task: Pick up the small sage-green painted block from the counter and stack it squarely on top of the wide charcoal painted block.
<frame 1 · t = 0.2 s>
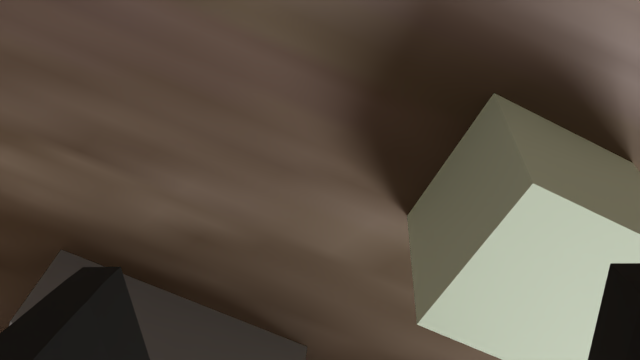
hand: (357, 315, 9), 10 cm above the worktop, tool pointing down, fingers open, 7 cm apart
sage block: (514, 189, 19), on the worktop
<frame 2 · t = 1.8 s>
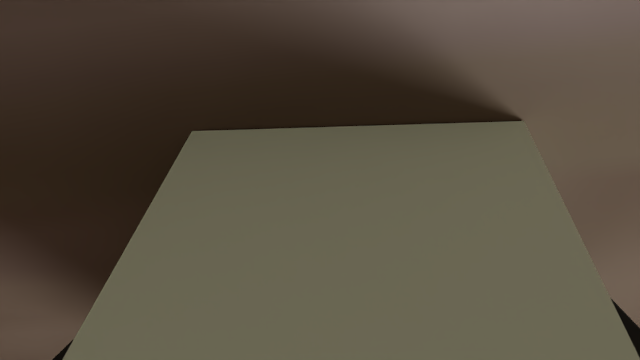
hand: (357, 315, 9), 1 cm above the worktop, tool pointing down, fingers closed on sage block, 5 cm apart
sage block: (359, 256, 10), on the worktop, touching gripper
when the fingers open (6 cm above the worktop, at t = 5.1 s): sage block drops 1 cm, resting on charcoal plinth.
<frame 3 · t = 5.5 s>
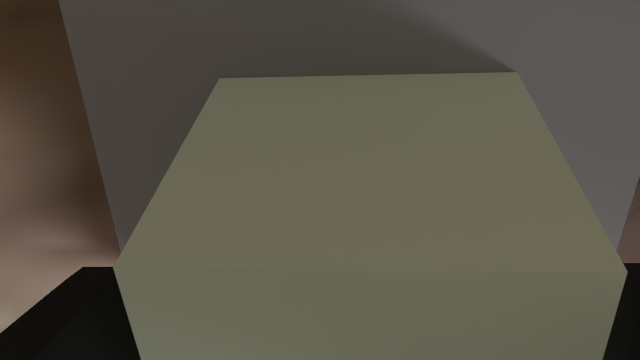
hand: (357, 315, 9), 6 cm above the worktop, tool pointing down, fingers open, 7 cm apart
charcoal plinth: (362, 120, 15), on the worktop, touching sage block
sage block: (366, 198, 11), point 4 cm above the worktop, touching charcoal plinth
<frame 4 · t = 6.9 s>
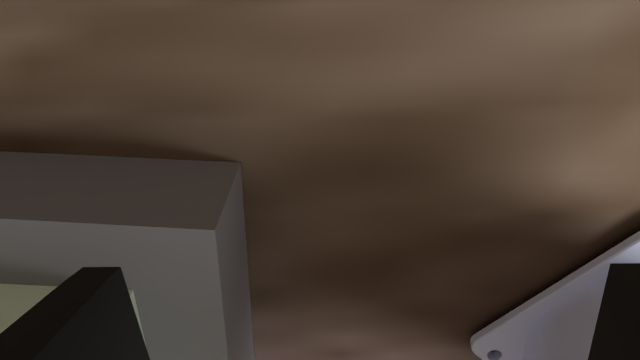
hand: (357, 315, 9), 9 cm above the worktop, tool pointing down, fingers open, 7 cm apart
charcoal plinth: (117, 267, 22), on the worktop
sage block: (69, 346, 19), point 4 cm above the worktop
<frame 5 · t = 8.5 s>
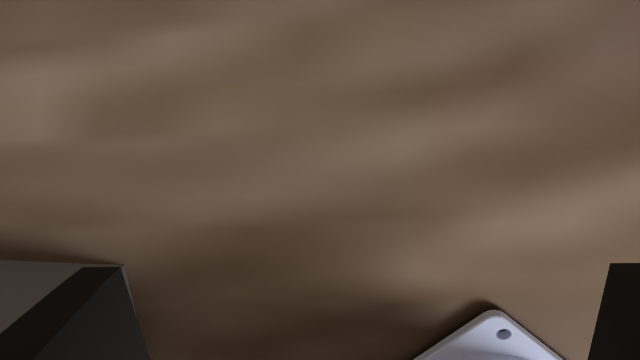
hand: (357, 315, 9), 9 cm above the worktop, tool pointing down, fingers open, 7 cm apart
charcoal plinth: (33, 346, 25), on the worktop, touching sage block
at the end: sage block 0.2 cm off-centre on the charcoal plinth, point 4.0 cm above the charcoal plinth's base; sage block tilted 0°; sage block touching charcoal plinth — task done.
